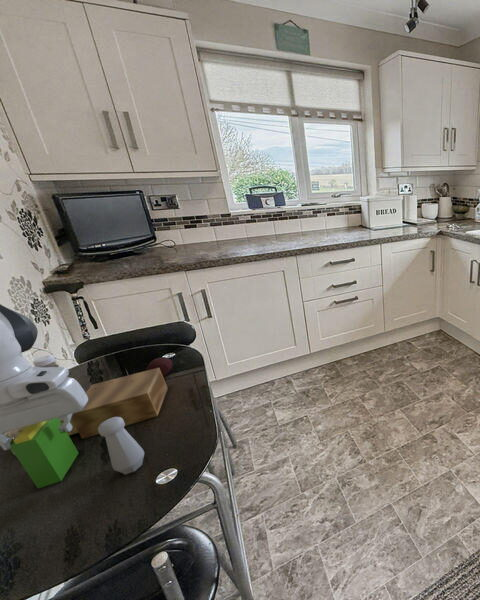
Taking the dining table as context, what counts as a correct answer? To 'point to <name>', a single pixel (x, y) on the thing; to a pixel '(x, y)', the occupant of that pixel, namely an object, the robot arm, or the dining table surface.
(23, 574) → the dining table surface
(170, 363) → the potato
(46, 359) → the sprinkles bottle
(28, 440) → the green box yellow lid
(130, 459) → the salt shaker
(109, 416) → the cabinet
